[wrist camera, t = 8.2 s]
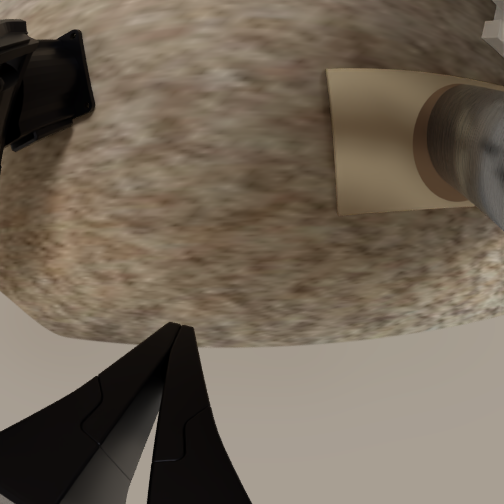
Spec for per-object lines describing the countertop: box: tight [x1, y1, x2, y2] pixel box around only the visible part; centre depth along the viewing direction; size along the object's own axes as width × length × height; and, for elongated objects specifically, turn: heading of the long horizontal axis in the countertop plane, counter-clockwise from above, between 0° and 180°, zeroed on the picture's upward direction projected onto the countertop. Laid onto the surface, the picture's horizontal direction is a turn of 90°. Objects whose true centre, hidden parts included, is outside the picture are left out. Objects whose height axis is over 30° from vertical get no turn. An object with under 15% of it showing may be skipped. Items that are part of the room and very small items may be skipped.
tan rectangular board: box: [325, 68, 504, 216], centre depth 16 cm, size 10×14×1 cm, turn 99°
